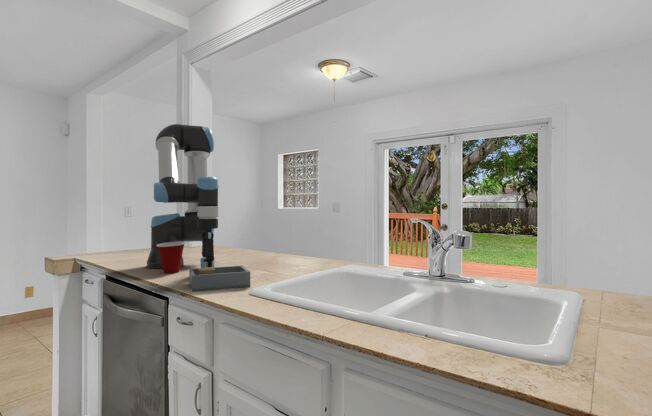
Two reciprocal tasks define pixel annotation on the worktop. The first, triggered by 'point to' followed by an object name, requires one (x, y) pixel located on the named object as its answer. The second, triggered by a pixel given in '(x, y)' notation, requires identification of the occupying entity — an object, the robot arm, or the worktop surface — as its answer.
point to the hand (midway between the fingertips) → (207, 276)
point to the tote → (220, 279)
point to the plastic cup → (171, 256)
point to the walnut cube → (206, 270)
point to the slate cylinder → (204, 263)
